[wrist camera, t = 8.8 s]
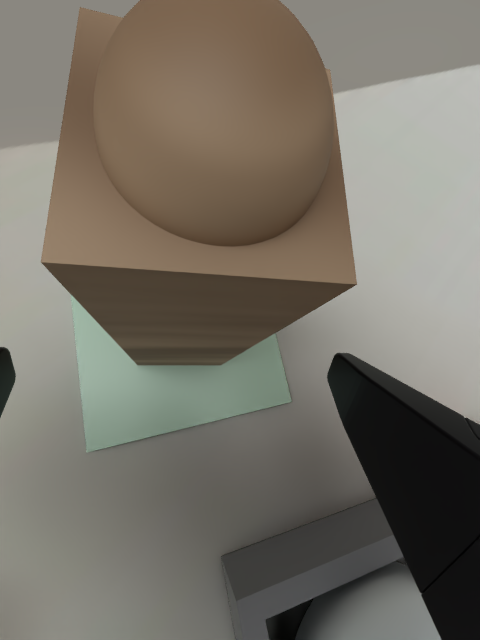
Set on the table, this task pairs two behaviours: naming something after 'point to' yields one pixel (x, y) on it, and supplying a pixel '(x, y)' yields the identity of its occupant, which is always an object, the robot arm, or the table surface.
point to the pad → (166, 387)
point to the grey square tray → (305, 565)
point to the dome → (370, 609)
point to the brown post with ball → (198, 179)
